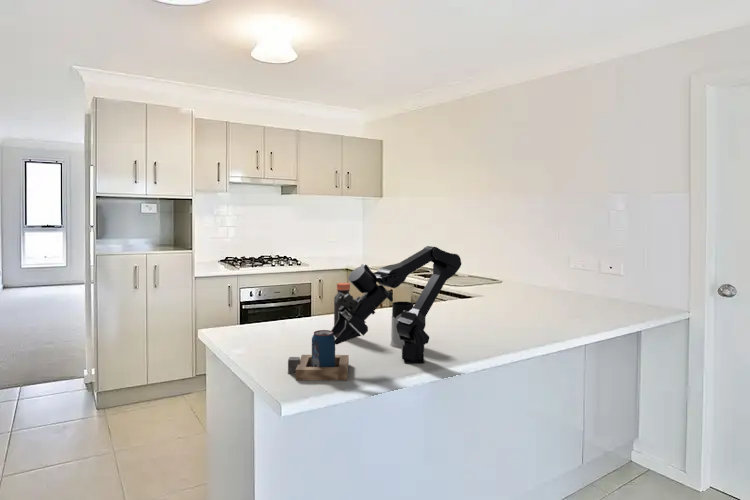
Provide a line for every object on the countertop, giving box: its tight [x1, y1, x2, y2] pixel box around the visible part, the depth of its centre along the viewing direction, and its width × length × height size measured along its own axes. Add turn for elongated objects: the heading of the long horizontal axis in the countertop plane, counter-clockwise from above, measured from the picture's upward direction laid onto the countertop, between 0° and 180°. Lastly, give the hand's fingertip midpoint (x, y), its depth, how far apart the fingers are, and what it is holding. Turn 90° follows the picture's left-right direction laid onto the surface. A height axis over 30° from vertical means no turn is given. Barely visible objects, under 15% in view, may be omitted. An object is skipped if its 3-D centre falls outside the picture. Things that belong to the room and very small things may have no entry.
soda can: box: [311, 329, 336, 367], centre depth 150 cm, size 7×7×12 cm
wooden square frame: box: [287, 354, 350, 381], centre depth 151 cm, size 18×14×4 cm
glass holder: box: [389, 301, 414, 349], centre depth 184 cm, size 9×14×15 cm, turn 15°
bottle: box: [333, 282, 351, 338], centre depth 192 cm, size 7×7×20 cm
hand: (332, 339), depth 151 cm, fingers open, 9 cm apart
